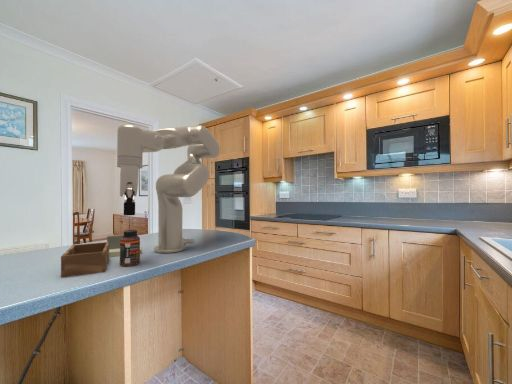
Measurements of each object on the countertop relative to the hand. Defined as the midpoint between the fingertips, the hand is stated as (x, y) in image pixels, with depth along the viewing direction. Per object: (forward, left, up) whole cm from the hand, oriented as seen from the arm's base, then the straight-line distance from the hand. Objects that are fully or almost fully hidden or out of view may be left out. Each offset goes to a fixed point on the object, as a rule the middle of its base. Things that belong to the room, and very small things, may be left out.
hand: (129, 214), depth 78 cm
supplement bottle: (0, 0, -17) cm, 17 cm away
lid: (+5, -19, -17) cm, 26 cm away
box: (+12, -3, -17) cm, 21 cm away
